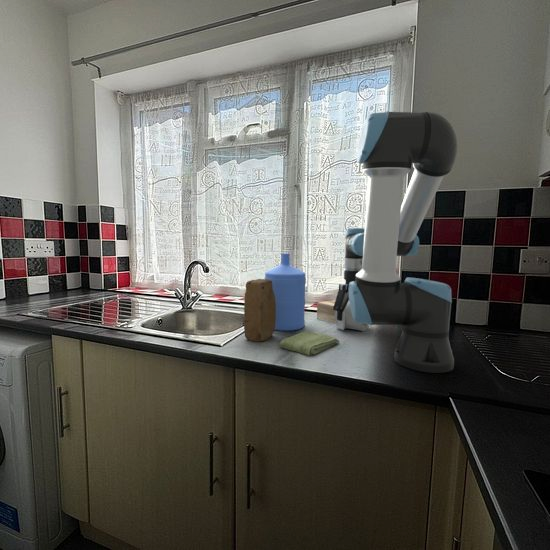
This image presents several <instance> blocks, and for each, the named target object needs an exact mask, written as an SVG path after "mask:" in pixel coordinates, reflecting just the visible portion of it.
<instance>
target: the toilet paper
mask: <svg viewBox="0 0 550 550" xmlns="http://www.w3.org/2000/svg"><path fill="white" fill-rule="evenodd" d="M343 312H345V328H344V329H348V330H349V329H350V330H356V331H361V332H366V331H367V330H368V327H369V325H368V324H359V323H357V322H355V321H354V319H353V317H352V314H351V309H350V303H349V301H348V303H347V305H346V307H345V309H344V311H343ZM334 324H335V325H336V326H337V327H338V320H337V311H335V323H334Z"/></svg>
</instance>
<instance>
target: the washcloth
mask: <svg viewBox="0 0 550 550" xmlns="http://www.w3.org/2000/svg"><path fill="white" fill-rule="evenodd" d="M339 343H340V340H339V339H338V338H336V337H335V336H331V335H327V334H324V333H317V332H315V331H314V330H305V331H301V332H300V333H297V334H295V335H292V336H288V337H285V338H283V339H282V340H281V341H280V343H279V347H280V348H282V349H284V348H285V350H289V351H291V352H297V353H300V354H302V355H305V354H306V356H308V355H312V356H314V355H317V354H320V353H321V352H323V351H325V350H327V349H328V348H331V347H333V346H334V345H336V344H339ZM320 351H321V352H320ZM319 352H320V353H319Z"/></svg>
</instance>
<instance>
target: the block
mask: <svg viewBox="0 0 550 550" xmlns="http://www.w3.org/2000/svg"><path fill="white" fill-rule="evenodd" d="M243 305H244V307H243V309H244V310H243V311H244V312H243V330H244V337H245V339H247V340H249V341H252V342H265V341H269V340H270V338H271V337H272V336H273V334H274V332H275V330H274V329H275V320H276V301H275V294H274V291H273V285H272V281H271V280H268V279H265V278H257V279H251V280H248V281H247V282H246V283H245V292H244V303H243Z"/></svg>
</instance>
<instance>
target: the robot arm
mask: <svg viewBox="0 0 550 550" xmlns="http://www.w3.org/2000/svg"><path fill="white" fill-rule="evenodd" d="M357 142H358V143H357V149H356V162H357V163H358V164H360V165H362V172H363V173H364V174H365V175H366V177H367V188H366V189H367V191H366V204H365V205H366V206H365V219H364V227H362V228H361V227H353V228H352V227H348V228H346V231H345V237H344V239H345V243H344V244H345V245H344V248H345V250H344V263H343V265H344V266H343V268H344V270H343V279H344V281H345V284H343V283H339V284H338V291H337V294H336V297H335V304H334V307H333V310H335V311H337V320H338V326H337V329H339V330H343V331H344V330H345V329H346V328H345V312H343V311H344V309H345V307H346V305H347V303H348V302H349V303H350V309H351V314H352V317H353V319H354V321H355V322H357V323H359V324H368V326H402V330H401V331H402V333H401V335H400V338H399V339H398V342H397V344H396V347H395V349H394V353H393V354H394V355H393V358H394V359H393V360H394V361H395V362H396V364H398V365H400V366H402V367H404V368H407V369H410V370H412V371H417V372H422V373H431V374H437V373H438V374H440V373H441V374H443V373H448V372H452V371H453V370H454V368H455V367H454V366H455V358H454V354H453V350H452V348H451V343H450V340H449V334H450V333H449V332H450V321H451V311H452V303H453V300H452V299H453V298H452V288H451V286H450V285H449V284H447V283H444V282H440V281H436V280H432V279H431V280H429V279H424V278H419V277H417V278H416V277H406V278H405V280H404V282H401V276H400V275H399V274H398V273H397V272H396V268H397V267H396V265H397V257H410V256H415V255H416V254H417V253H418V251H419V247H420V237H419V236H418V235H417V234H418V231H419V230H420V228H421V225H422V223H423V221H424V219H425V218H426V215H427V213H428V211H429V208H430V206H431V204H432V202H433V200H434V198H435V196H436V193H437V191H438V189H439V187H440V185H441V183H442V180H443V178H444V177H446V176H448V175H449V174H450V173H451V171H452V169H453V167H454V165H455V162H456V159H457V155H458V139H457V134H456V131H455V128H454V126H453V125H452V123H450V121H449V120H448V119H447V118H446V117H444V116H443V115H442V114H439V113H438V112H433V111H424V112H423V111H421V112H420V111H419V112H416V111H414V112H413V111H407V112H406V111H383V112H372V113H370V114H369V115H367V117H366V119H365V120H364V121H363V125H362V127H361V130H360V135H359V139H358V141H357ZM412 167H413V168H414V170H413V173H412V176H411V179H410V181H409V183H408V187H407V189H406V192H405V194H404V197H403V191H404V190H403V189H404V178H405V177H406V176H407V175H408V174H409V173H411V171H412ZM402 198H403V199H402Z"/></svg>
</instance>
